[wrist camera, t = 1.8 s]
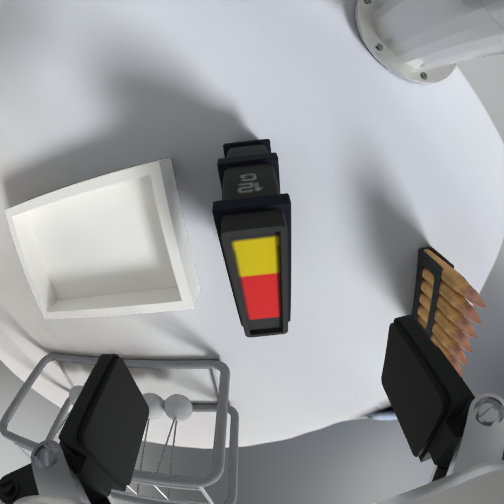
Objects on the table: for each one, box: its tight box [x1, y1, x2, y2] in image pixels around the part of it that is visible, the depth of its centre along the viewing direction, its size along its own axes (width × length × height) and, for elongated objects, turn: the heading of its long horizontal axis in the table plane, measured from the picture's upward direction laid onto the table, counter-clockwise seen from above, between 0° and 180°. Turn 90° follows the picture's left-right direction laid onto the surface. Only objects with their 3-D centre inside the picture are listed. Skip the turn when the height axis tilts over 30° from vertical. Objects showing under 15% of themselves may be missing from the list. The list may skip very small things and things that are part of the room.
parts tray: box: [5, 158, 200, 319], centre depth 28 cm, size 14×20×4 cm
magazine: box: [212, 139, 291, 337], centre depth 23 cm, size 4×13×15 cm, turn 6°
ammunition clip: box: [412, 247, 485, 377], centre depth 26 cm, size 11×2×12 cm, turn 9°
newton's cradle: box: [0, 353, 239, 504], centre depth 29 cm, size 30×10×18 cm, turn 95°
